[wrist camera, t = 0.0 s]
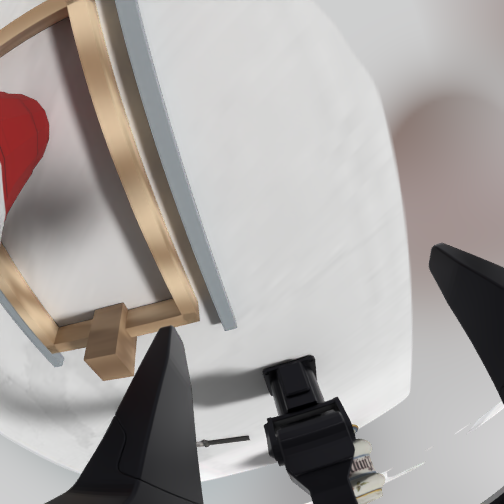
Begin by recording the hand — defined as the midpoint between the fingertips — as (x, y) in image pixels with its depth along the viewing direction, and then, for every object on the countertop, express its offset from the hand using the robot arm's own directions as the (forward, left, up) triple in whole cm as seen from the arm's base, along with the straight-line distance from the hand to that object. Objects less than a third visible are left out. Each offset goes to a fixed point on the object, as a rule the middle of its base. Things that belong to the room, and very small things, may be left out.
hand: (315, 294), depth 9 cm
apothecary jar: (-60, -7, -15) cm, 63 cm away
